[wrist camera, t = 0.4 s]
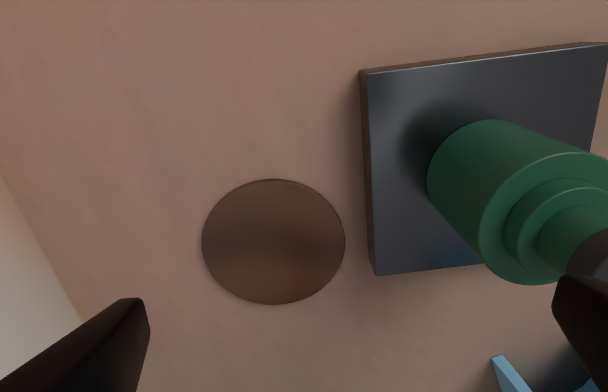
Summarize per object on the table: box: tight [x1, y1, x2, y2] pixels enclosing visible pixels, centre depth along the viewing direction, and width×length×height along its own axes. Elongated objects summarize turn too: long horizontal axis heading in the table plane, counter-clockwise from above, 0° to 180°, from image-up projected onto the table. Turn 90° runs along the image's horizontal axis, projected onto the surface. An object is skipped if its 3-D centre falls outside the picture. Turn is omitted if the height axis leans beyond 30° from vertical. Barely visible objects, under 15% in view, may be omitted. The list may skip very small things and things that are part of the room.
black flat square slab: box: [359, 42, 608, 276], centre depth 21 cm, size 12×12×2 cm
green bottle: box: [426, 119, 608, 285], centre depth 16 cm, size 6×6×10 cm
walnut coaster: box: [202, 179, 345, 305], centre depth 23 cm, size 9×9×1 cm
